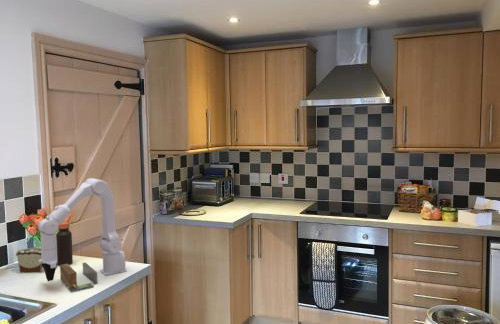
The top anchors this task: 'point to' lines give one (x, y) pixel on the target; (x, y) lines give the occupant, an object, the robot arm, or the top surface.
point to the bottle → (64, 244)
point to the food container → (29, 260)
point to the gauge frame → (90, 274)
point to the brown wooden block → (68, 275)
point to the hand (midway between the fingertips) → (50, 280)
